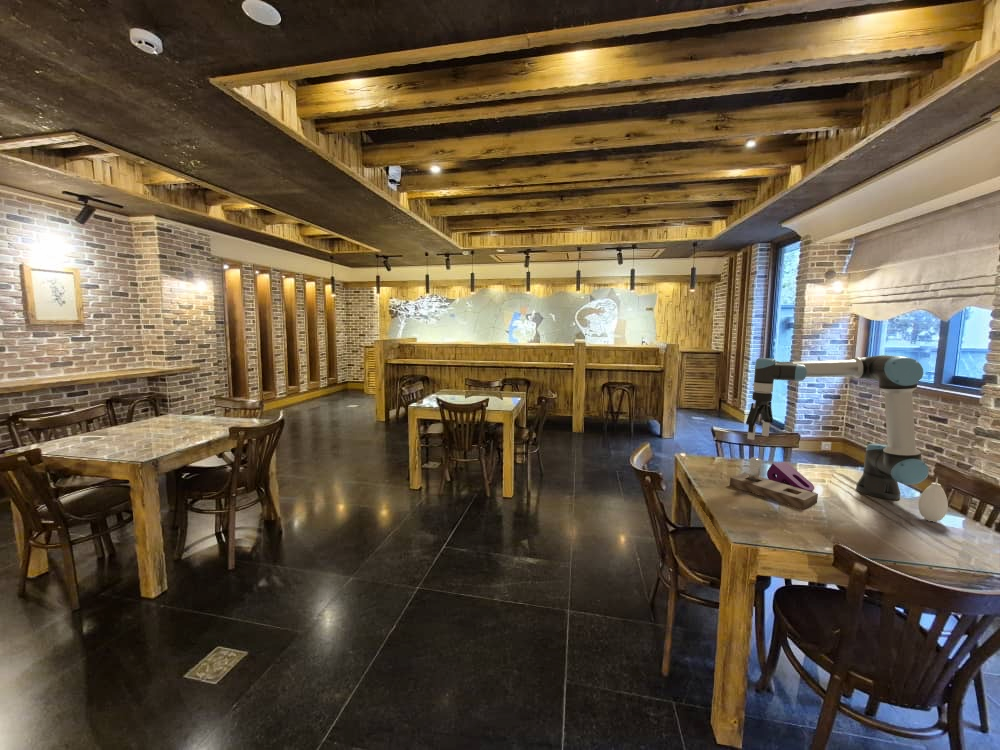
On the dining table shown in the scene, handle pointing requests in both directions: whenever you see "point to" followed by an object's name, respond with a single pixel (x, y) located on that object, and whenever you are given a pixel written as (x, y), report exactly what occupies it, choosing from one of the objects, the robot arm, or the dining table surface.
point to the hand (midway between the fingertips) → (758, 437)
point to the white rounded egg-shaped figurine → (933, 503)
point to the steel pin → (754, 469)
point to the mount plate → (775, 491)
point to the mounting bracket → (788, 476)
